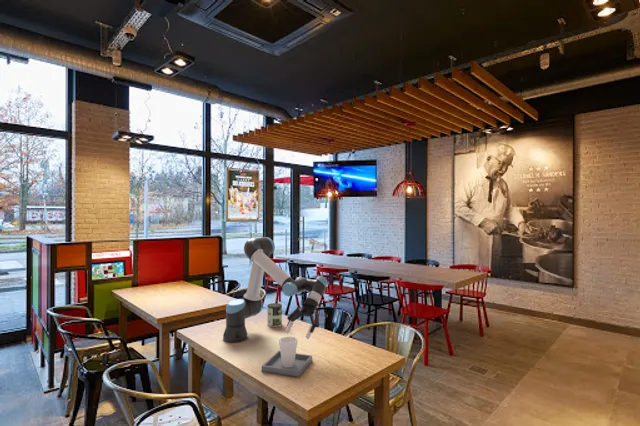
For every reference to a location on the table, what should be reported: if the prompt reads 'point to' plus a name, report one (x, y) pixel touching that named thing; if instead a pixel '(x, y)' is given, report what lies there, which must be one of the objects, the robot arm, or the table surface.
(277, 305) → the coffee can
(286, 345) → the foam cup
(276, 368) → the tray
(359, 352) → the table surface
